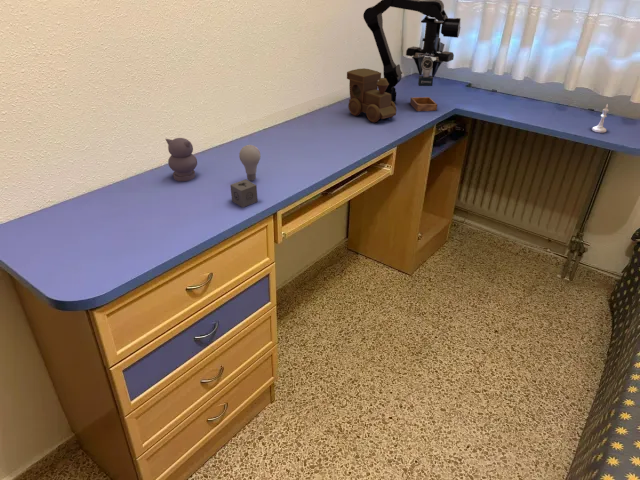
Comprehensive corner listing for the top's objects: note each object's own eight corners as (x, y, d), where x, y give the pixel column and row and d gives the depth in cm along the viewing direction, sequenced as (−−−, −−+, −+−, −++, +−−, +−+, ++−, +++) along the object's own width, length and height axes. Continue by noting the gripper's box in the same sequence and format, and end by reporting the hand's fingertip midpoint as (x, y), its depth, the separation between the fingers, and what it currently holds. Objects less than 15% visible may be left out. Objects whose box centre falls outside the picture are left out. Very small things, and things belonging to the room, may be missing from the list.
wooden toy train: (343, 113, 198) (344, 71, 190) (363, 107, 205) (365, 67, 196) (378, 125, 186) (381, 81, 177) (398, 119, 192) (402, 76, 183)
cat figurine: (203, 172, 148) (198, 135, 142) (192, 183, 142) (186, 144, 135) (178, 169, 150) (172, 132, 143) (165, 180, 143) (158, 142, 137)
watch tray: (417, 111, 201) (417, 104, 200) (409, 103, 210) (410, 97, 209) (436, 110, 202) (437, 104, 201) (428, 103, 211) (429, 97, 210)
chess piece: (592, 131, 182) (600, 105, 177) (591, 127, 186) (599, 101, 181) (606, 133, 181) (615, 106, 175) (605, 129, 185) (614, 103, 179)
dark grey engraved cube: (246, 195, 136) (245, 179, 133) (257, 201, 133) (256, 185, 130) (232, 201, 133) (230, 184, 130) (242, 207, 130) (241, 190, 127)
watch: (418, 87, 198) (421, 58, 193) (418, 82, 205) (420, 55, 200) (432, 87, 197) (435, 58, 192) (431, 83, 204) (434, 55, 199)
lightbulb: (244, 186, 140) (241, 150, 135) (239, 178, 145) (235, 143, 139) (264, 183, 143) (262, 147, 137) (258, 175, 147) (256, 140, 141)
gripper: (462, 35, 191) (456, 76, 200) (420, 30, 201) (416, 68, 209) (450, 39, 184) (444, 81, 192) (407, 33, 194) (403, 73, 202)
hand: (426, 75), depth 199 cm, fingers closed on watch, 5 cm apart
